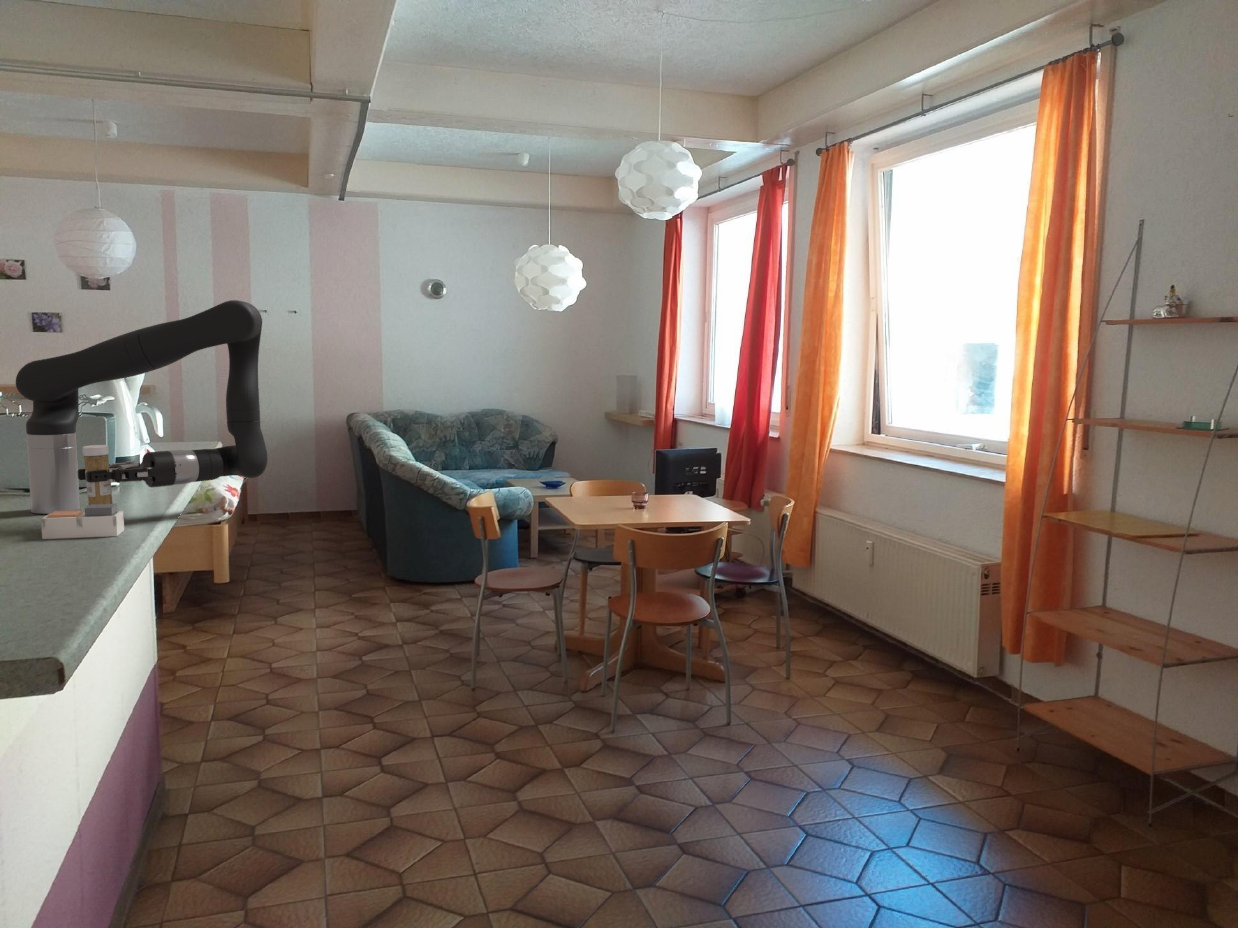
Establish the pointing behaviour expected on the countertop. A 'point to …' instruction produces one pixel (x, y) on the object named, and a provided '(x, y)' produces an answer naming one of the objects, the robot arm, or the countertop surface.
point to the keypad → (82, 526)
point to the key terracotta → (64, 514)
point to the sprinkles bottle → (96, 461)
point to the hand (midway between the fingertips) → (82, 475)
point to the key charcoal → (101, 510)
